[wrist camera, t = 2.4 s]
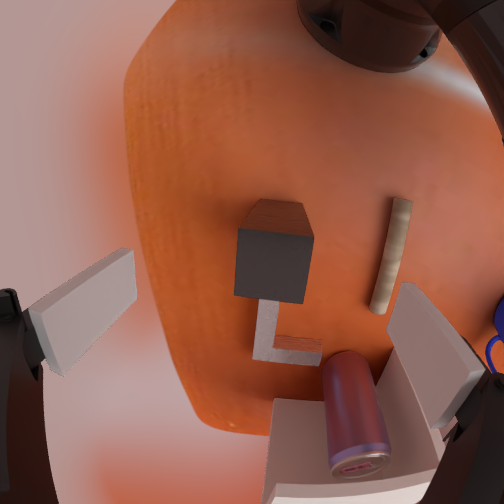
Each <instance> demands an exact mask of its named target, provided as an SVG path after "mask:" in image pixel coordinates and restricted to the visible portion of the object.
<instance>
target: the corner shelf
mask: <svg viewBox="0 0 504 504" xmlns="http://www.w3.org/2000/svg"><path fill="white" fill-rule="evenodd" d="M375 388H376V391H377V394H378V398H379V401H380V405H381V409H382V412H383V416H384V420H385V424H386V428H387V432H388V436H389V440H390V444H391V448H392V451H391V458H392V459H391V462H390V464H389V465H388V466H387V467H386V468H384V469H383V470H381V471H379V472H377V473H375V474H373V475H370V476H367V477H363V478H359V479H351V480H343V479H337V478H335V477H333V476H332V475H331V469H330V467H329V464H328V445H327V430H326V416H325V404H324V401H307V400H294V399H283V398H274V401H273V409H272V418H271V428H270V437H269V445H268V454H267V462H266V470H265V477H264V485H263V493H262V499H261V504H415V503H417V502H418V501H419V500H421V499H422V498H423V496H424V494H425V492H426V490H427V488H428V486H429V484H430V482H431V480H432V478H433V476H434V474H435V472H436V470H437V467H438V465H439V463H440V461H441V458H442V456H443V453H444V451H445V445H444V442H443V441H442V440H443V439H442V437H441V434H440V432H439V429H438V428H436V429H430V427H429V424H428V421H427V419H426V416H425V414H424V411H423V409H422V406H421V404H420V402H419V399H418V397H417V395H416V392H415V390H414V388H413V385H412V383H411V381H410V379H409V376H408V374H407V372H406V370H405V368H404V366H403V363H402V361H401V359H400V357H399V355H398V353H397V351H396V349H395V347H394V348H393V351H392V353H391V355H390V358H389V360H388V362H387V364H386V366H385V369H384V371H383V373H382V375H381V377H380V379H379V381H378V383H377V385H376V387H375Z"/></svg>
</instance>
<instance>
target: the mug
mask: <svg viewBox="0 0 504 504" xmlns="http://www.w3.org/2000/svg"><path fill="white" fill-rule="evenodd" d="M494 324H495V327H496V330H497V332H498V335H496V336H494V337H493V338H492V339H491V340H490V341H489V342H488V344H487V346H486V350H485V355H486V359H487V362H488V365H489V367H490V369H491V372H492V373H496V372H497V371H496V369H495V367H494V365H493V363H492V360H491V356H490V351H491V348H492V346H493V344H494V343H495V342H496V341H498V340H501V341H502V342H503V343H504V298H503V299H502V300H501V302H500V304H499V306H498V308H497V310H496V313H495V317H494Z"/></svg>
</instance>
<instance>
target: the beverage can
mask: <svg viewBox="0 0 504 504" xmlns="http://www.w3.org/2000/svg"><path fill="white" fill-rule="evenodd" d="M322 383H323V393H324V404H325V416H326V430H327V445H328V464H329V467H330V469H331V475H332V476H333V477H335V478H337V479H343V480H351V479H359V478H363V477H367V476H370V475H373V474H375V473H377V472H379V471H381V470H383V469H384V468H386V467H387V466H388V465H389V464H390V462H391V459H392V458H391V451H392V448H391V444H390V440H389V436H388V432H387V428H386V424H385V420H384V416H383V412H382V409H381V405H380V401H379V398H378V394H377V391H376V388H375V384H374V381H373V378H372V374H371V371H370V368H369V365H368V362H367V360H366V358H365V357H364V356H363V355H361V354H359V353H356V352H352V351H346V352H341V353H338V354H336V355H334V356H332V357H331V358H330V359H329V360H328V361H327V362H326V363H325V365H324V366H323V368H322Z"/></svg>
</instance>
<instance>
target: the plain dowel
mask: <svg viewBox="0 0 504 504" xmlns="http://www.w3.org/2000/svg"><path fill="white" fill-rule="evenodd" d="M412 204H413V202H412V201H409V200H405V199H400V198H395V197H394V200H393V206H392V212H391V218H390V223H389V229H388V234H387V238H386V243H385V248H384V252H383V257H382V261H381V265H380V269H379V273H378V277H377V281H376V285H375V288H374V292H373V296H372V299H371V302H370V306H369V310H370V311H371V312H373V313H375V314H379V315H382V314H385V313H386V310H387V307H388V304H389V300H390V297H391V294H392V291H393V287H394V284H395V280H396V277H397V273H398V269H399V265H400V261H401V257H402V253H403V249H404V245H405V240H406V236H407V231H408V226H409V221H410V216H411V210H412Z"/></svg>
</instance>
